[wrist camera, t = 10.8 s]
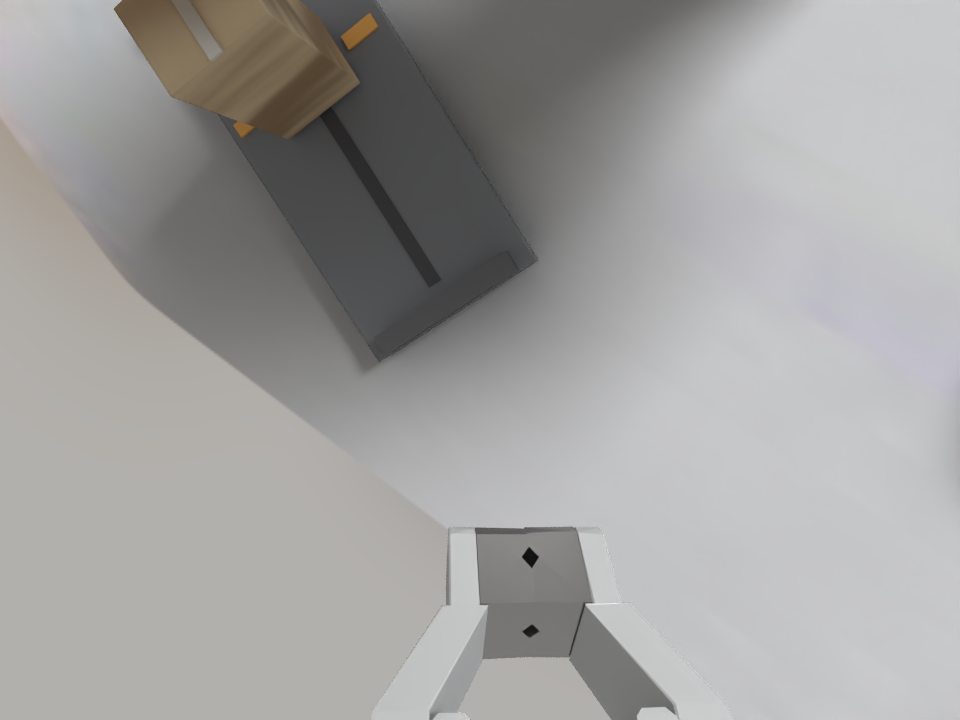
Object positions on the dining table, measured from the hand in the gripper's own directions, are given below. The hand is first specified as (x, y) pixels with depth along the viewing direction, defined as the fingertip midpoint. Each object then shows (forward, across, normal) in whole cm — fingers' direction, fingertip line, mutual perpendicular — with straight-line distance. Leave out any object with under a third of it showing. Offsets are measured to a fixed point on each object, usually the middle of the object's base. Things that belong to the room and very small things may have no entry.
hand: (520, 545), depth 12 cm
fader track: (+30, +7, 0) cm, 31 cm away
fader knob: (+29, +9, -2) cm, 30 cm away
